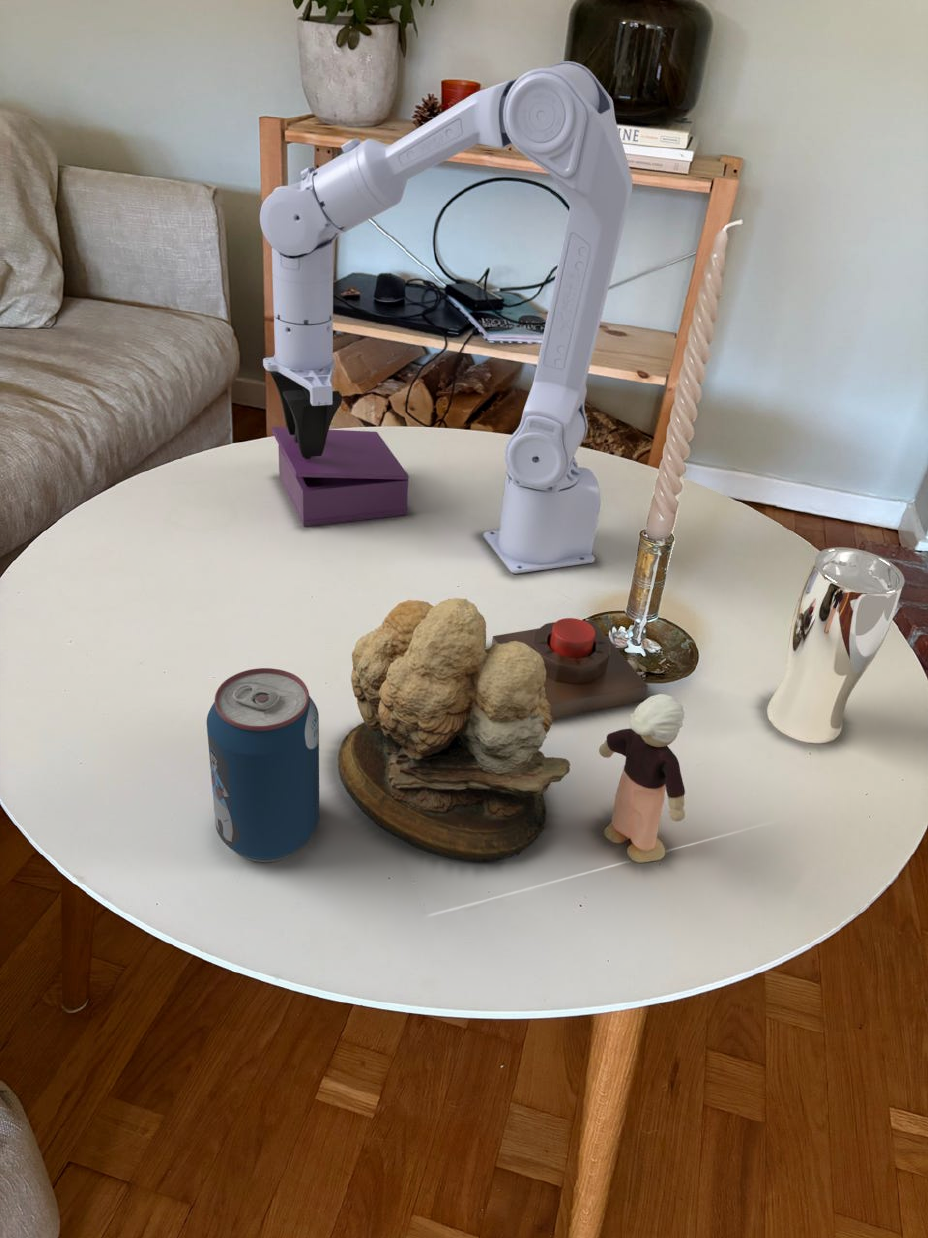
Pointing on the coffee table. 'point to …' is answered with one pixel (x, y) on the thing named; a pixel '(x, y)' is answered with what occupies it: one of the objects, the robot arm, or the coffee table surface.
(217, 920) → the coffee table surface
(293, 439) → the purple flat piece
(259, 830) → the soda can
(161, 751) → the coffee table surface
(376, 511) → the box
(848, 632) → the beer glass
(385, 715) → the tan rock sculpture
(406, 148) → the robot arm
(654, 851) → the grandmother figurine
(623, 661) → the button block
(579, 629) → the button
